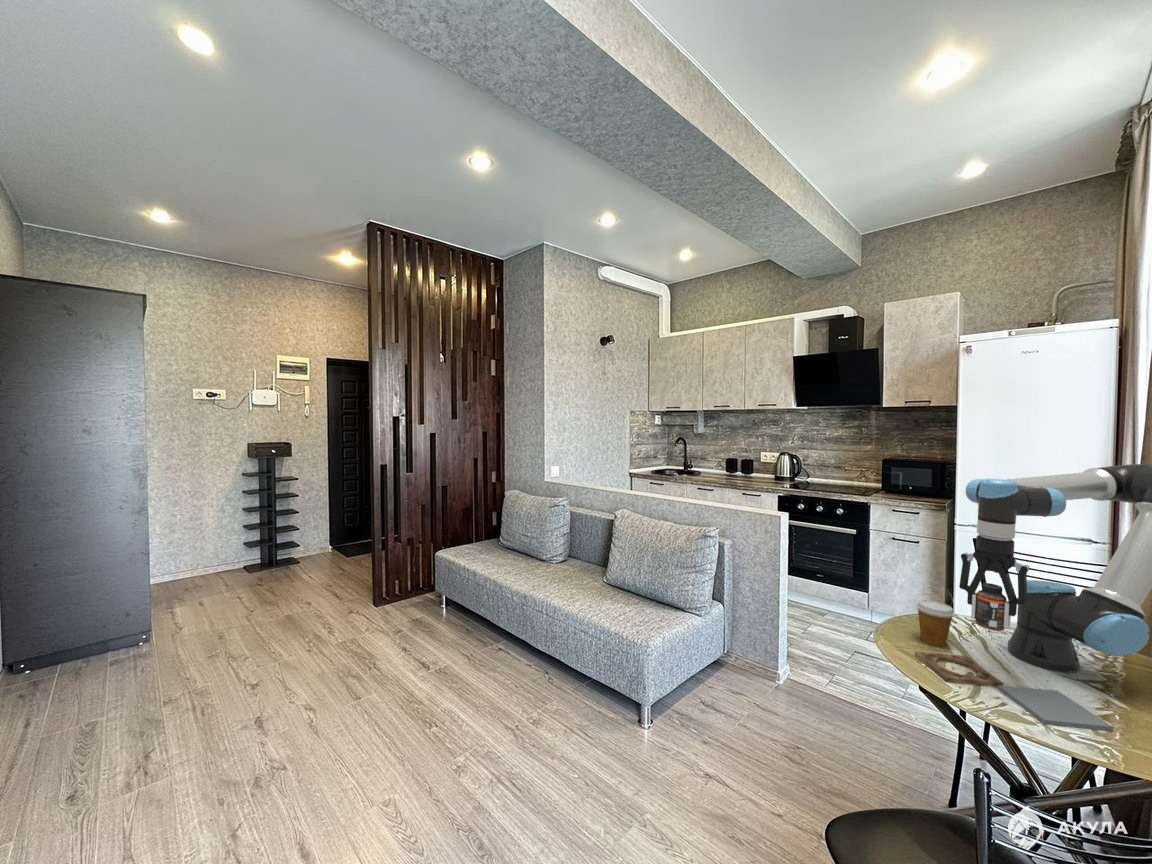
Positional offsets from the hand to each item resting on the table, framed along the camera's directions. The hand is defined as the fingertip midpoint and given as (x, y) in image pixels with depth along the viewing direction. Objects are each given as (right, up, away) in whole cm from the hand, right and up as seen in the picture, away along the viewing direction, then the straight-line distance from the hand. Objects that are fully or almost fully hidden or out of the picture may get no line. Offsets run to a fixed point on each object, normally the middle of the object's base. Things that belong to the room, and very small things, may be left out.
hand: (990, 621), depth 124 cm
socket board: (-4, -16, +6) cm, 18 cm away
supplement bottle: (0, -2, 0) cm, 2 cm away
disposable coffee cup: (+2, -16, +23) cm, 28 cm away
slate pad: (+6, -17, -10) cm, 21 cm away
